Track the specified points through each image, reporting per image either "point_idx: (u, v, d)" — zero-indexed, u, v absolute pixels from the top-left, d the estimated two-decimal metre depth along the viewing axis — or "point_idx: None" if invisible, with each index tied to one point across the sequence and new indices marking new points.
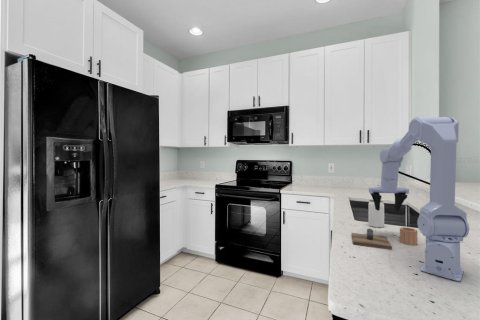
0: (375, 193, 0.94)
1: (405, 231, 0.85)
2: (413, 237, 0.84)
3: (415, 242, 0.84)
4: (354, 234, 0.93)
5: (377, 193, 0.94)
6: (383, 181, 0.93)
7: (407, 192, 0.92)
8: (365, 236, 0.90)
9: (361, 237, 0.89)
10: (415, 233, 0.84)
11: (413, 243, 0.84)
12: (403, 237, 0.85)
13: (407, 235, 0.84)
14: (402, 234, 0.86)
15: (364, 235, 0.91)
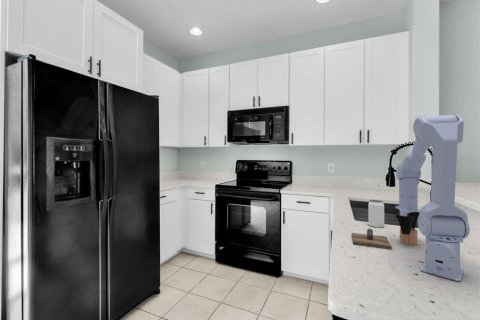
0: (407, 215, 0.82)
1: None
2: (413, 237, 0.84)
3: (415, 242, 0.84)
4: (354, 234, 0.93)
5: (408, 215, 0.83)
6: (409, 200, 0.84)
7: None
8: (365, 236, 0.90)
9: (361, 237, 0.89)
10: (415, 233, 0.84)
11: (413, 243, 0.84)
12: (403, 237, 0.85)
13: (407, 235, 0.84)
14: (402, 234, 0.86)
15: (364, 235, 0.91)
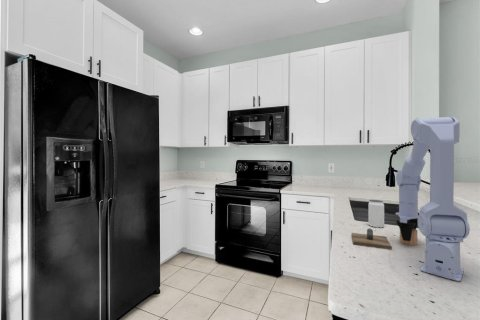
0: (407, 222, 0.82)
1: None
2: (413, 237, 0.84)
3: (415, 242, 0.84)
4: (354, 234, 0.93)
5: (408, 221, 0.83)
6: (409, 207, 0.84)
7: None
8: (365, 236, 0.90)
9: (361, 237, 0.89)
10: (415, 233, 0.84)
11: (413, 243, 0.84)
12: None
13: None
14: None
15: (364, 235, 0.91)
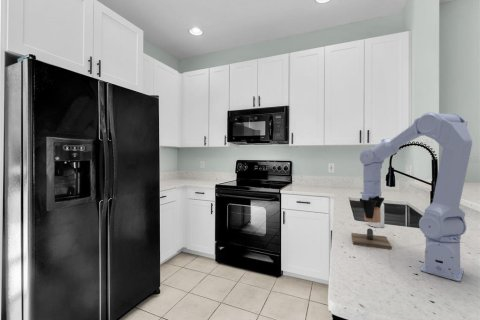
0: (369, 199, 0.83)
1: None
2: (376, 215, 0.84)
3: (378, 220, 0.85)
4: (354, 234, 0.93)
5: (371, 199, 0.84)
6: (372, 185, 0.85)
7: None
8: (365, 236, 0.90)
9: (361, 237, 0.89)
10: (378, 211, 0.85)
11: (376, 220, 0.84)
12: None
13: None
14: None
15: (364, 235, 0.91)
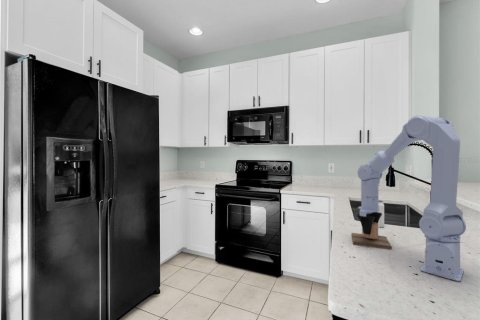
0: (367, 215, 0.83)
1: None
2: (374, 231, 0.84)
3: (375, 236, 0.85)
4: (354, 234, 0.93)
5: (368, 215, 0.84)
6: (369, 201, 0.85)
7: None
8: None
9: (361, 237, 0.89)
10: (376, 227, 0.85)
11: (373, 236, 0.84)
12: None
13: None
14: None
15: None
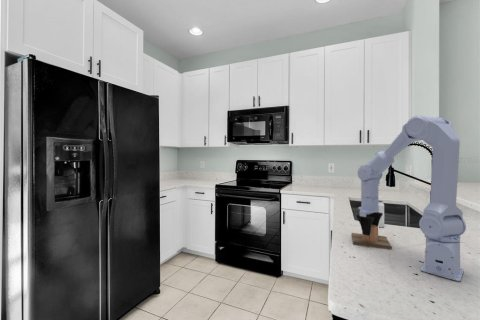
0: (367, 216, 0.83)
1: None
2: (374, 234, 0.84)
3: (375, 238, 0.84)
4: (354, 234, 0.93)
5: (368, 215, 0.83)
6: (369, 201, 0.85)
7: None
8: None
9: (361, 237, 0.89)
10: (375, 230, 0.85)
11: (373, 239, 0.84)
12: None
13: None
14: None
15: None
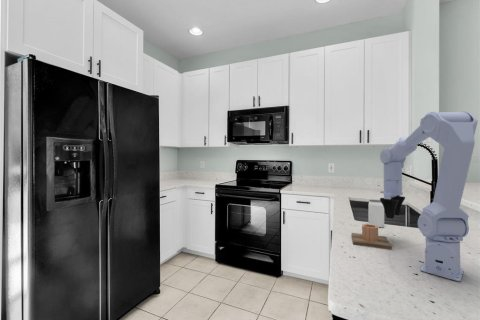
0: (391, 198, 0.82)
1: (366, 228, 0.86)
2: (374, 234, 0.84)
3: (375, 238, 0.84)
4: (354, 234, 0.93)
5: (392, 198, 0.82)
6: (393, 184, 0.84)
7: None
8: None
9: (361, 237, 0.89)
10: (375, 230, 0.85)
11: (373, 239, 0.84)
12: (364, 234, 0.86)
13: (368, 232, 0.85)
14: (364, 231, 0.86)
15: None
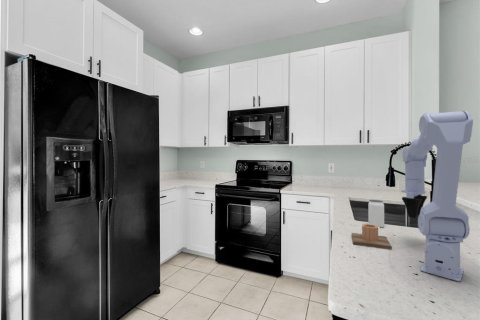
0: (414, 198, 0.81)
1: (366, 228, 0.86)
2: (374, 234, 0.84)
3: (375, 238, 0.84)
4: (354, 234, 0.93)
5: (414, 197, 0.81)
6: (416, 183, 0.82)
7: None
8: None
9: (361, 237, 0.89)
10: (375, 230, 0.85)
11: (373, 239, 0.84)
12: (364, 234, 0.86)
13: (368, 232, 0.85)
14: (364, 231, 0.86)
15: None
